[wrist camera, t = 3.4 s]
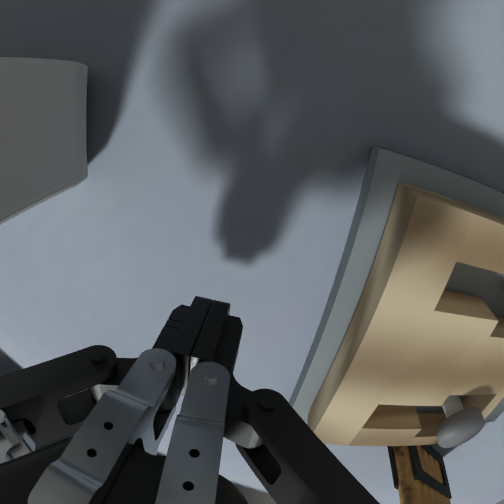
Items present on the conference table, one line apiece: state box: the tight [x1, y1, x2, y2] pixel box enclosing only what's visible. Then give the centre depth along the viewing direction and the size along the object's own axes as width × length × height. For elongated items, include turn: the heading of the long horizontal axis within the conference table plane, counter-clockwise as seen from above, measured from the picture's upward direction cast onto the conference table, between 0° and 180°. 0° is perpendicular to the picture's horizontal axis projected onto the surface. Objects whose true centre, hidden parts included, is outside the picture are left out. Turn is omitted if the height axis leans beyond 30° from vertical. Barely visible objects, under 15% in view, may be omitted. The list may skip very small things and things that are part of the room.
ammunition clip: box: [387, 445, 452, 504], centre depth 15 cm, size 11×2×12 cm, turn 43°
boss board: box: [289, 146, 504, 448], centre depth 13 cm, size 16×18×5 cm
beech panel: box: [307, 182, 504, 446], centre depth 13 cm, size 14×12×2 cm
